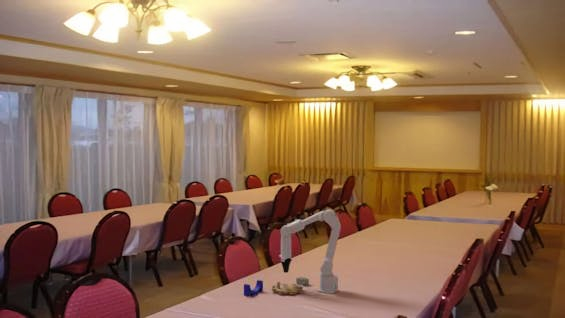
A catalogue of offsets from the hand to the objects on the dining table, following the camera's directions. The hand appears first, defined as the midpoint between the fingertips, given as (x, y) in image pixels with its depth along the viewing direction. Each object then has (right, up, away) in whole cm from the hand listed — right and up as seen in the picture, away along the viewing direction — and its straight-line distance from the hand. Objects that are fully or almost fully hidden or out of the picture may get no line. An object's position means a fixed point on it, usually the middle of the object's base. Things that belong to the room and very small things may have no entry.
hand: (286, 272), depth 305 cm
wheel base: (+1, -10, -4) cm, 10 cm away
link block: (+9, -9, +10) cm, 17 cm away
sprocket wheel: (+1, -10, -4) cm, 10 cm away
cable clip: (-17, -10, -9) cm, 22 cm away
